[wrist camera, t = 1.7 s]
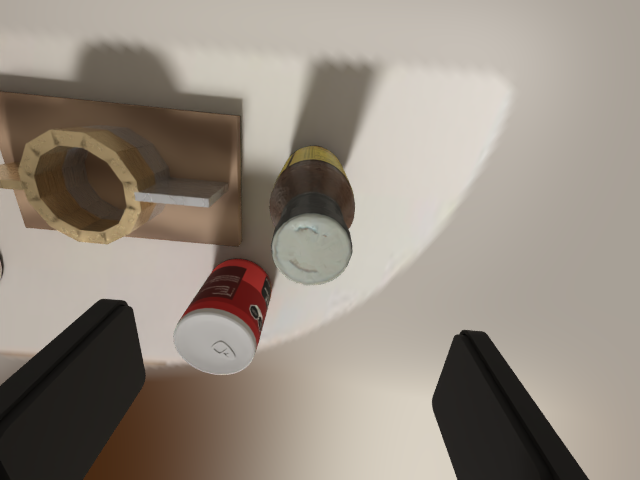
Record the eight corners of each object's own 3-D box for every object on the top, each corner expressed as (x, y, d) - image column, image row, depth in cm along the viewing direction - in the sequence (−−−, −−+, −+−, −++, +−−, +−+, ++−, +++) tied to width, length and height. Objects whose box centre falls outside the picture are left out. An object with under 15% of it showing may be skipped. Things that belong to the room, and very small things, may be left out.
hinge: (229, 229, 34) (211, 253, 29) (29, 211, 33) (-28, 232, 28) (226, 137, 30) (205, 144, 25) (-1, 114, 29) (-75, 116, 24)
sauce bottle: (306, 211, 35) (289, 328, 17) (273, 165, 33) (211, 241, 14) (354, 180, 33) (393, 271, 15) (323, 129, 31) (324, 165, 13)
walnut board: (241, 241, 36) (238, 246, 35) (37, 222, 36) (25, 227, 34) (240, 115, 31) (236, 116, 29) (-4, 90, 30) (-19, 90, 29)
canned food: (255, 317, 41) (233, 386, 31) (201, 289, 39) (159, 352, 29) (284, 277, 38) (270, 338, 28) (228, 245, 37) (192, 298, 27)
